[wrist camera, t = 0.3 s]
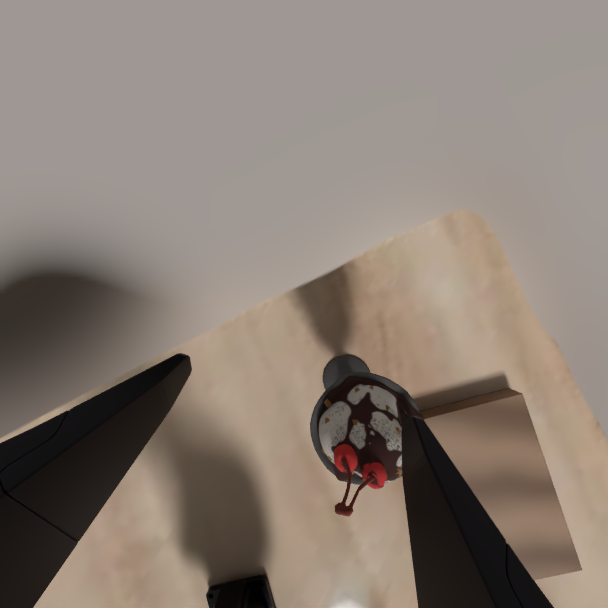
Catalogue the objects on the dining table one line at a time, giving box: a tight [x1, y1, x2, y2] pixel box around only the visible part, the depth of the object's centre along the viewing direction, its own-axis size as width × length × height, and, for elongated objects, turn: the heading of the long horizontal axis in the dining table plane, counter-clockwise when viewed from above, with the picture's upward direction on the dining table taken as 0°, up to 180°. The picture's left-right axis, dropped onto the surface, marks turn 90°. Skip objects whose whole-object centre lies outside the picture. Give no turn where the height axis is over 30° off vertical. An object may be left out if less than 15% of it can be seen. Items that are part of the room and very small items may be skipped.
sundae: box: [310, 355, 424, 516], centre depth 16 cm, size 7×7×15 cm
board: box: [420, 388, 582, 580], centre depth 22 cm, size 20×12×2 cm, turn 17°
